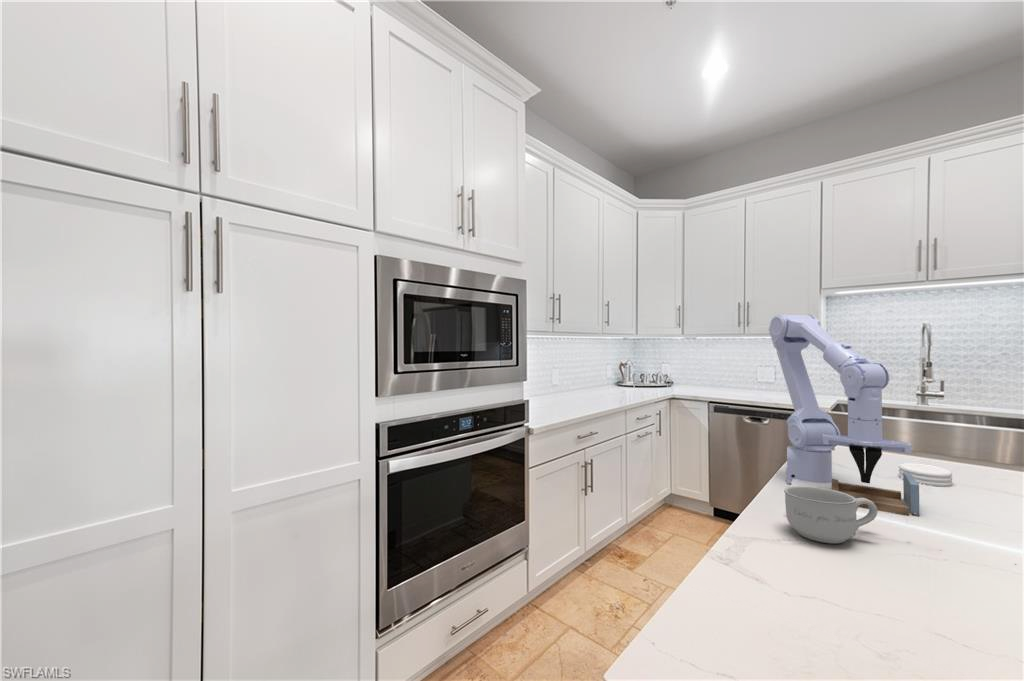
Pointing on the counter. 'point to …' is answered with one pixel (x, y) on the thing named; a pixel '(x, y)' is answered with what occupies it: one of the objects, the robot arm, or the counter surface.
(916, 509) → the tailgate
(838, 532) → the teacup
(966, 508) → the counter surface
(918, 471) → the coaster
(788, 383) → the robot arm
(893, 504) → the wooden tray
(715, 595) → the counter surface
